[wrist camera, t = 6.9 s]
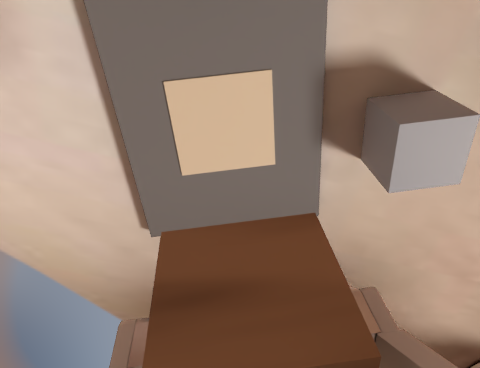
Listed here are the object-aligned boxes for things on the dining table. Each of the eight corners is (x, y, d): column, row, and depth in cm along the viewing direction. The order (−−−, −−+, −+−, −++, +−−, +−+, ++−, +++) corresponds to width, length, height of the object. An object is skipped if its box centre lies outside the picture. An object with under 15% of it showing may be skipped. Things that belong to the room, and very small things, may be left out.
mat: (315, 210, 30) (318, 216, 30) (152, 230, 30) (151, 237, 29) (324, -36, 21) (329, -36, 20) (84, -12, 20) (80, -11, 20)
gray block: (421, 150, 28) (460, 183, 24) (360, 158, 28) (388, 193, 24) (434, 89, 26) (480, 114, 22) (366, 97, 26) (399, 124, 21)
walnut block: (311, 312, 14) (358, 459, 10) (186, 329, 14) (181, 486, 10) (315, 212, 12) (381, 356, 7) (161, 232, 11) (139, 391, 7)
